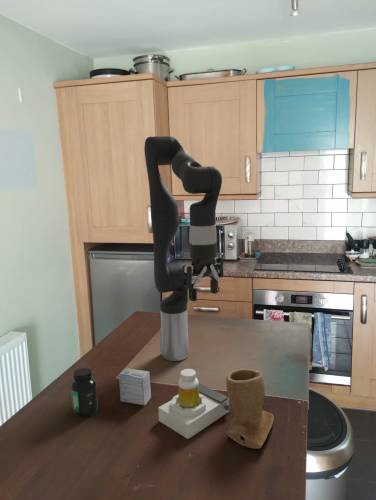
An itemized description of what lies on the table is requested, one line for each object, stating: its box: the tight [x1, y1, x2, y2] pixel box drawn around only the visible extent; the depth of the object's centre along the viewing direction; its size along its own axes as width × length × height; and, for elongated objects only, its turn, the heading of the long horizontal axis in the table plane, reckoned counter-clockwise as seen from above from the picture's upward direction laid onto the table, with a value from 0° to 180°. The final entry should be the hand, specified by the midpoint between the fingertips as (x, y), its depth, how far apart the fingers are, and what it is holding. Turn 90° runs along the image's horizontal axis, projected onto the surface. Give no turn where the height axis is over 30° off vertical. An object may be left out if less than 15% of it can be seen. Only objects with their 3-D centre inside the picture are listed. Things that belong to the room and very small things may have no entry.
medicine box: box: [118, 367, 152, 406], centre depth 123 cm, size 8×4×9 cm, turn 71°
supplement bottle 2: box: [177, 368, 200, 408], centre depth 112 cm, size 5×5×10 cm
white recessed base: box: [157, 382, 231, 440], centre depth 114 cm, size 16×12×6 cm
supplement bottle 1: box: [70, 367, 99, 418], centre depth 118 cm, size 7×7×12 cm
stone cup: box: [225, 368, 275, 450], centre depth 107 cm, size 15×12×15 cm
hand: (203, 296), depth 120 cm, fingers open, 8 cm apart
